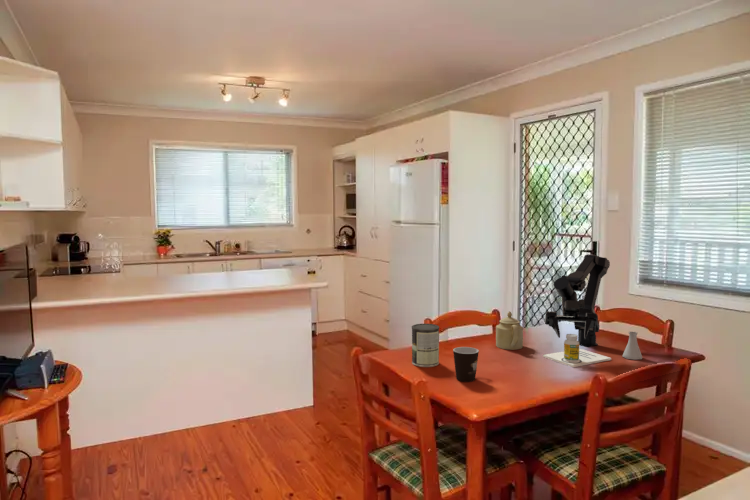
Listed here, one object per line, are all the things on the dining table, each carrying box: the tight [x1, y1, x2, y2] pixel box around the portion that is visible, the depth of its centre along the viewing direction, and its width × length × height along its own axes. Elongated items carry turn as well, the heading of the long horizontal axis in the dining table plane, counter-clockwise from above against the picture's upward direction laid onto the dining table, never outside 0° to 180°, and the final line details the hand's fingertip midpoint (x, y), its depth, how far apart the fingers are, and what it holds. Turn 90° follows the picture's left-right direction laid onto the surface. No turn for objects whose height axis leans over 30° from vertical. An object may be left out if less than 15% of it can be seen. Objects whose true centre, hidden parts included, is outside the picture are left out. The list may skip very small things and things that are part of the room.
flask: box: [622, 331, 643, 361], centre depth 202 cm, size 7×7×10 cm
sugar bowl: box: [495, 311, 524, 351], centre depth 218 cm, size 15×11×15 cm
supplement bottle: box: [563, 333, 580, 362], centre depth 196 cm, size 5×5×10 cm
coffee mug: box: [452, 346, 480, 383], centre depth 179 cm, size 12×9×10 cm
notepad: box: [542, 348, 612, 368], centre depth 202 cm, size 15×20×1 cm
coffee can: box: [411, 323, 440, 368], centre depth 196 cm, size 10×10×14 cm
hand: (572, 338), depth 196 cm, fingers open, 9 cm apart
